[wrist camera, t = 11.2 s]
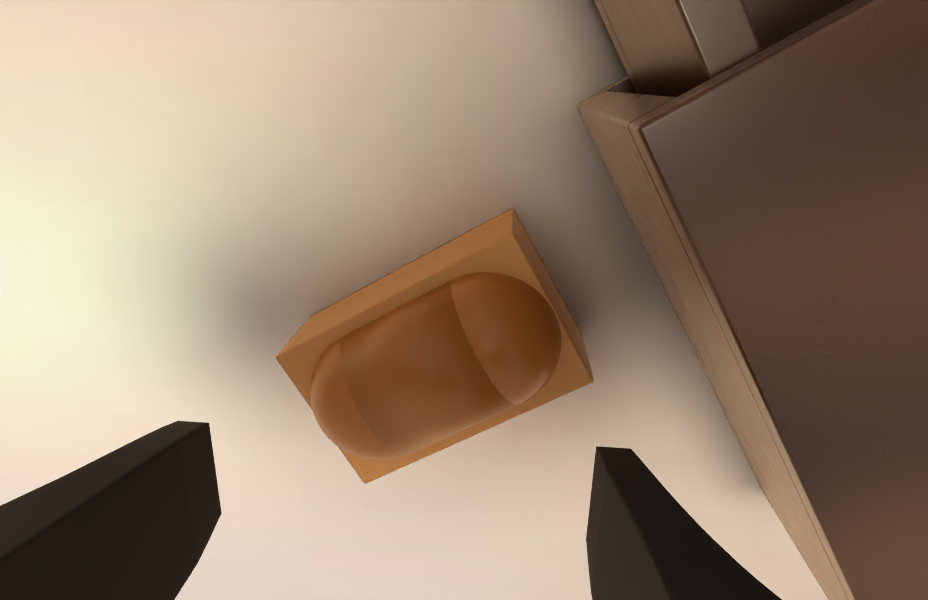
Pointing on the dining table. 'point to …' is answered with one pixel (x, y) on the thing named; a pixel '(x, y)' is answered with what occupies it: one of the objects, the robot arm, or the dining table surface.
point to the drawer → (699, 36)
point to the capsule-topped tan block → (438, 350)
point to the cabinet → (804, 273)
